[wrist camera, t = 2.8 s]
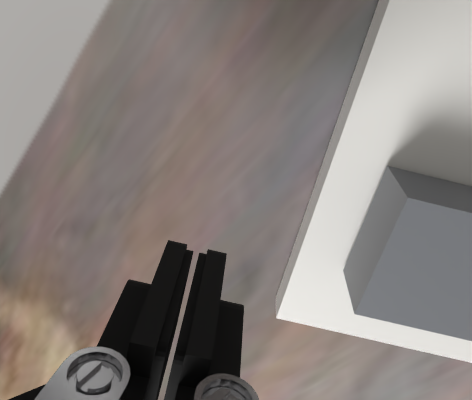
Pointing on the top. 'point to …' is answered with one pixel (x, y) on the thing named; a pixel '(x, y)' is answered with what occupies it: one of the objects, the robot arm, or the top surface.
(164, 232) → the top surface
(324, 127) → the top surface
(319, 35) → the top surface
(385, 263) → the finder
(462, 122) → the white rectangular board
